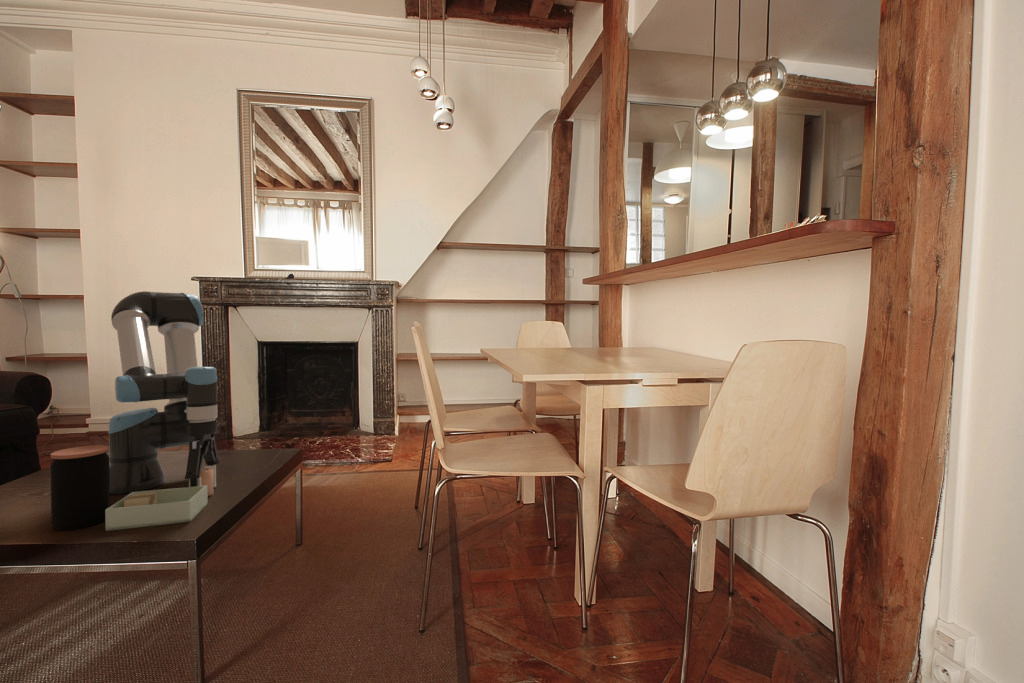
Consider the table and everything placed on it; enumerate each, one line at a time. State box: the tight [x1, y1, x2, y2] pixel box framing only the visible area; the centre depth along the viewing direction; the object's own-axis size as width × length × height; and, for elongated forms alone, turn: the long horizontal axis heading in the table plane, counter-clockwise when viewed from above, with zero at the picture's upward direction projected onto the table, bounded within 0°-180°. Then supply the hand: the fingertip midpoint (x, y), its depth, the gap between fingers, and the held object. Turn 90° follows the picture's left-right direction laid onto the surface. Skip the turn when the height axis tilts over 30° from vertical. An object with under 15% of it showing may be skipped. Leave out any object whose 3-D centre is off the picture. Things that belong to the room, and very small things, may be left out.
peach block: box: [200, 468, 215, 497], centre depth 135 cm, size 5×5×7 cm
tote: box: [104, 486, 209, 532], centre depth 118 cm, size 13×17×5 cm
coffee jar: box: [50, 444, 111, 531], centre depth 115 cm, size 11×11×18 cm
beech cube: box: [124, 492, 157, 507], centre depth 117 cm, size 5×5×5 cm
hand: (203, 494), depth 135 cm, fingers open, 12 cm apart
